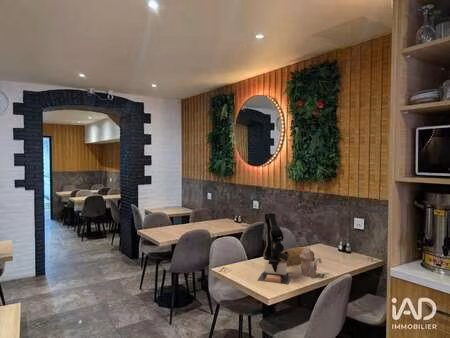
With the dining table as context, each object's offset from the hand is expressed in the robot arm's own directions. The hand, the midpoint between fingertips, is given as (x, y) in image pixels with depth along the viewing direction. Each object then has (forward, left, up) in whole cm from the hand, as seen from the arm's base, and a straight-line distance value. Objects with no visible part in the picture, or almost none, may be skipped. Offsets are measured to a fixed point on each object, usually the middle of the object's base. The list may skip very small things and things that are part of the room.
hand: (275, 271), depth 208 cm
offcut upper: (+8, 0, -2) cm, 8 cm away
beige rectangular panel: (0, 0, -4) cm, 4 cm away
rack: (+3, 0, -4) cm, 5 cm away
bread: (-41, +9, -5) cm, 42 cm away
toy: (-14, +22, -5) cm, 26 cm away
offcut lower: (+8, 0, -4) cm, 9 cm away
